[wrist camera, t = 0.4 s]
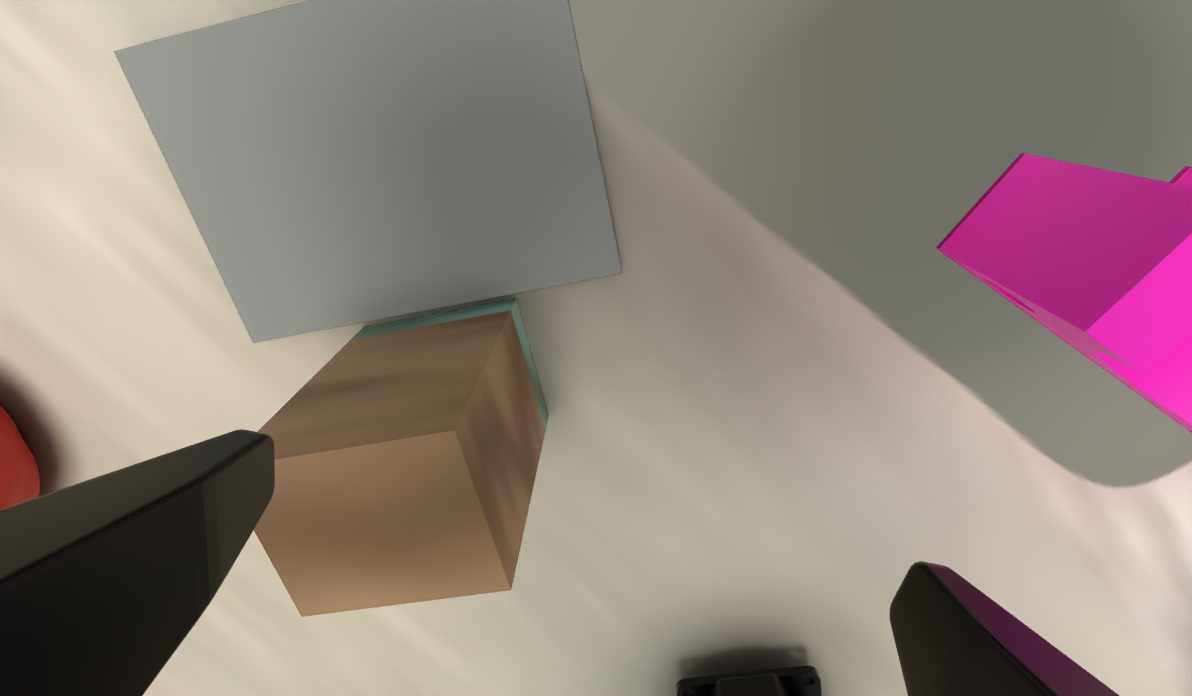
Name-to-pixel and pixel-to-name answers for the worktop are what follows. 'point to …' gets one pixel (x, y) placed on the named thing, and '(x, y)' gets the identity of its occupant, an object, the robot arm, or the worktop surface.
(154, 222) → the worktop surface
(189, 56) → the mat
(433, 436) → the walnut block
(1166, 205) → the toy block
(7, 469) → the tomato
